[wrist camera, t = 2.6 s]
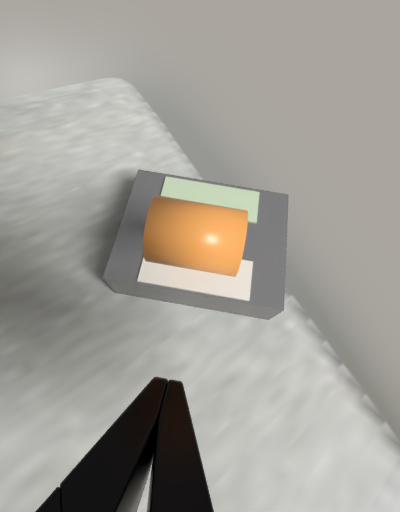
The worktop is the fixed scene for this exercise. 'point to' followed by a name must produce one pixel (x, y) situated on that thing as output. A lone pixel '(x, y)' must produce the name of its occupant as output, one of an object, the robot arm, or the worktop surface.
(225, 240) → the lever
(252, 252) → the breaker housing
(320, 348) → the worktop surface
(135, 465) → the robot arm
